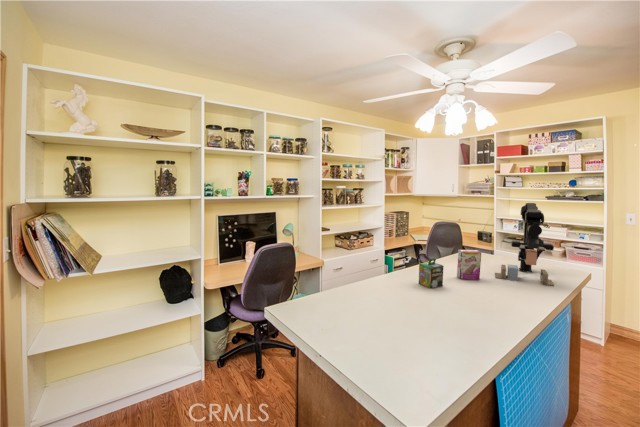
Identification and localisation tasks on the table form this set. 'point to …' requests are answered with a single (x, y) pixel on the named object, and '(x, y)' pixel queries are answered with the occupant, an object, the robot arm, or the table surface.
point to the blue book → (512, 272)
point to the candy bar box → (469, 264)
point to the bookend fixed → (502, 274)
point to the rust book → (531, 257)
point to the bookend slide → (545, 278)
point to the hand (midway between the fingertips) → (530, 260)
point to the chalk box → (431, 274)
